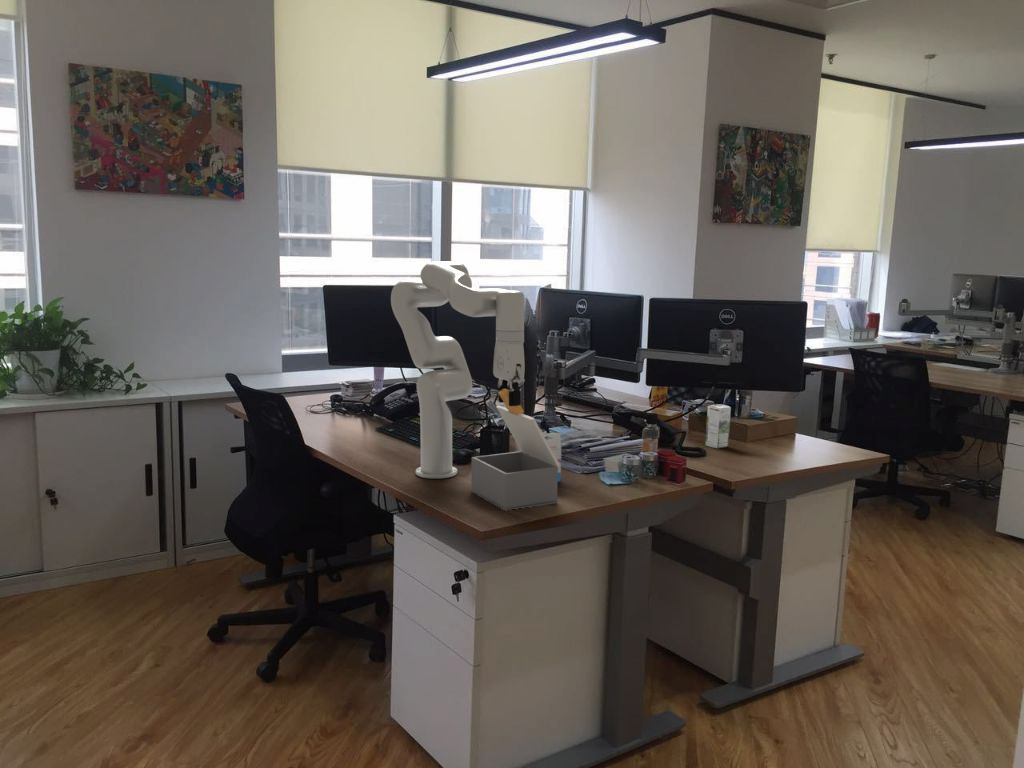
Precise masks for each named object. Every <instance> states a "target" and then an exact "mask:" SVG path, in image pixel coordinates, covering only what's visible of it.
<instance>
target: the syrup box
mask: <svg viewBox="0 0 1024 768" xmlns="http://www.w3.org/2000/svg"><path fill="white" fill-rule="evenodd" d="M731 410H732V407H731V406H729V405H726V404H718V403H717V404H712V405H707V410H706V411H707V414H706V427H705V441H704V442H705V443H704V446H707V447H710V448H713V449H722V448H723V449H724V448H727V447H729V442H730V441H729V440H730V426H731Z"/></svg>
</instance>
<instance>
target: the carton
mask: <svg viewBox="0 0 1024 768" xmlns="http://www.w3.org/2000/svg"><path fill="white" fill-rule="evenodd" d="M470 480H471V481H470V483H471V493H473V494H474V493H475V495H476V494H477V495H476V496H478V497H479V498H481V497H482V499H483V498H484V499H483V500H484V501H487V502H488V501H489V502H488V503H490V502H491V503H490V504H492V503H493V504H494V505H493V504H492V505H493V506H495V505H496V506H495V507H497V506H498V507H497V508H499V507H500V508H501V510H502V509H503V510H502V511H504V510H505V512H508V511H507V510H510V511H512V510H511V509H516V510H519V509H518V508H522V509H526V508H525V507H529V508H533V506H535V507H540V506H548V505H552V504H557V503H558V483H559V482H558V467H556V466H554V465H552V464H550V463H547V462H545V461H543V460H540V459H538V458H536V457H533V456H531V455H530V454H527V453H525V452H523V451H521V450H519V451H511V452H505V453H504V452H503V453H495V454H489V455H479V456H472V457H471V479H470ZM500 508H499V509H500Z"/></svg>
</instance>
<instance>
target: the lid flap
mask: <svg viewBox="0 0 1024 768" xmlns="http://www.w3.org/2000/svg"><path fill="white" fill-rule="evenodd" d="M509 391H510V390H508V389H505V388H503V389H502V390H501V391H499V390H498V396H499V395H500V397H501V398H502V400H503V402H502V403H504V406H502V405H496V409H497V411H498V413H499V414H500V416H501V418H502V420H503V422H504V423H505V425H506V427H507V429H509V430H508V431H509V432H510V434H511V435H512V438H513V439H514V441H515V442H516V444H517V446H518V448H519V449H520V450H519V451H522V452H524V453H527V454H529V455H532V456H534V457H537V458H539V459H541V460H543V461H546V462H548V463H550V464H553V465H555V466H557V467H558V466H559V465H560V464H559V462H558V460H557V459H556V457H555V455H554V453H553V451H552V450H551V448H550V446H549V444H548V442H547V441H546V437H544V435H543V431H542V430H541V428H540V427H539V424H538V423H537V421H536V419H535V417H532V416H529V415H528V414H527V415H526V414H524V413H525V412H524V409H523V407H522V406H521V404H520V405H519V406H509Z"/></svg>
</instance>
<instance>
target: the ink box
mask: <svg viewBox="0 0 1024 768" xmlns="http://www.w3.org/2000/svg"><path fill="white" fill-rule="evenodd" d="M542 433H543V432H542ZM543 435H544V437H545V439H546V438H547V437H549V438H547V439H546V441H547V442H548V444H549V446H550V448H551V450H552V451H553V453H554V455H555V457H556V459H557V460H558V462H559V464H560V465H559V466H558V482H557V483H560V482H561V481H562V440H561V439H562V433H560V432H555V433H553V432H551V433H550V432H547V433H543ZM531 456H532V455H531ZM533 457H534V456H533ZM536 458H537V457H536ZM538 459H539V458H538ZM540 460H541V459H540ZM545 462H546V461H545ZM547 463H548V462H547ZM552 465H553V464H552ZM554 466H555V465H554ZM556 467H557V466H556Z"/></svg>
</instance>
